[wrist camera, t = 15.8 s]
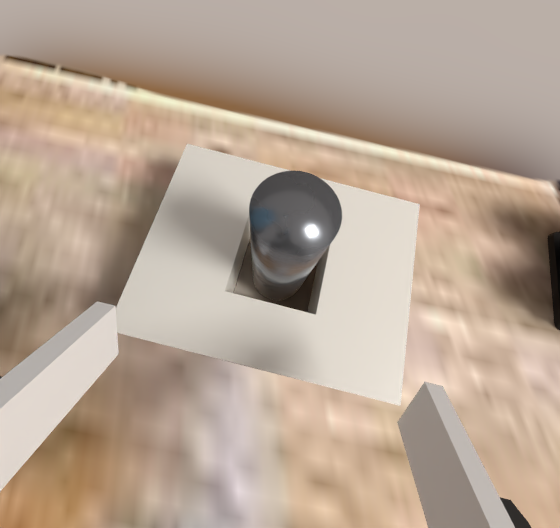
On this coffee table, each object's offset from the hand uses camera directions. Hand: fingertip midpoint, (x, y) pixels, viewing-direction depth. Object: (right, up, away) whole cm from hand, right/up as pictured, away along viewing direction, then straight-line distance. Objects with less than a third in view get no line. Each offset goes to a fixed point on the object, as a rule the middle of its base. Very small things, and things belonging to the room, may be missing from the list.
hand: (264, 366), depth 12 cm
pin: (0, +3, +10) cm, 11 cm away
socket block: (0, +3, +10) cm, 11 cm away
